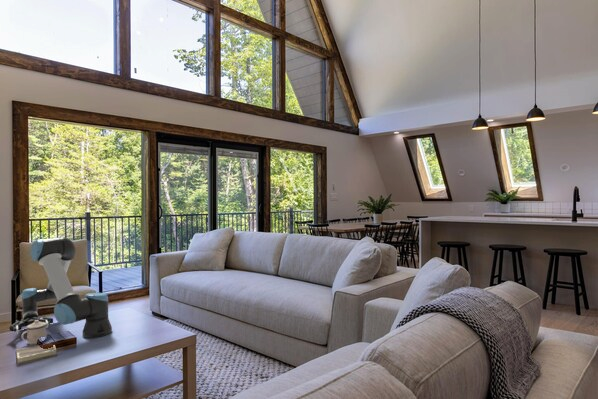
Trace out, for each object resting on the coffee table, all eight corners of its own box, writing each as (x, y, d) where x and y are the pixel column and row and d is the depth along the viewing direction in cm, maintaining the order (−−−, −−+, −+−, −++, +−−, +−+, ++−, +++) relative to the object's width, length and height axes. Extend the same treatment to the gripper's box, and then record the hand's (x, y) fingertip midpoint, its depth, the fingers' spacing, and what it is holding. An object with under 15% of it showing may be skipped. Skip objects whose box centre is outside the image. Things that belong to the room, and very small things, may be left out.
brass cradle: (17, 357, 186) (17, 353, 186) (54, 348, 195) (54, 344, 195) (17, 362, 180) (17, 358, 179) (56, 353, 189) (56, 349, 189)
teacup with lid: (41, 337, 214) (41, 316, 214) (50, 340, 210) (49, 319, 210) (17, 344, 204) (16, 323, 204) (26, 347, 199) (25, 326, 199)
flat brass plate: (16, 351, 195) (16, 349, 195) (53, 343, 205) (52, 341, 205) (17, 364, 179) (17, 362, 179) (57, 355, 189) (57, 353, 189)
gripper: (55, 320, 233) (59, 329, 217) (4, 329, 218) (4, 340, 201) (55, 308, 233) (59, 316, 216) (4, 316, 218) (3, 326, 201)
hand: (32, 328), depth 209 cm, fingers open, 13 cm apart
